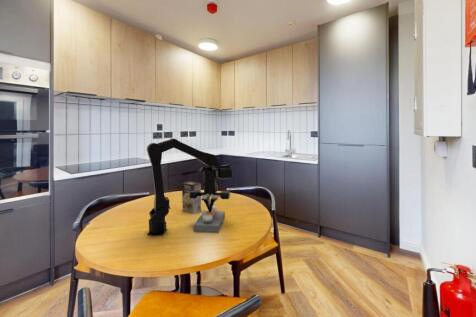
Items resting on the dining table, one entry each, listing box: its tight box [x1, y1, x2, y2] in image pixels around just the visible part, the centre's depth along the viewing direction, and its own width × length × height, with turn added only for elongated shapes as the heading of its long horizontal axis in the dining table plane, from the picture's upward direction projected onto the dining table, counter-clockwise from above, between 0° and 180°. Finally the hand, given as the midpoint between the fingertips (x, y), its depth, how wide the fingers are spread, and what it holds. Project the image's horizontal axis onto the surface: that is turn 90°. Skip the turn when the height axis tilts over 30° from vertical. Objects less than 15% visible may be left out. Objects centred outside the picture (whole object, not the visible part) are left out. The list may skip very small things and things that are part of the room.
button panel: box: [193, 210, 226, 234], centre depth 121 cm, size 11×20×3 cm, turn 175°
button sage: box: [203, 215, 212, 222], centre depth 115 cm, size 4×4×2 cm
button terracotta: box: [205, 210, 215, 217], centre depth 121 cm, size 4×4×2 cm
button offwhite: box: [212, 205, 218, 212], centre depth 127 cm, size 4×4×2 cm
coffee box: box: [181, 180, 202, 214], centre depth 141 cm, size 9×6×16 cm
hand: (210, 212), depth 121 cm, fingers closed, pressing on button terracotta
